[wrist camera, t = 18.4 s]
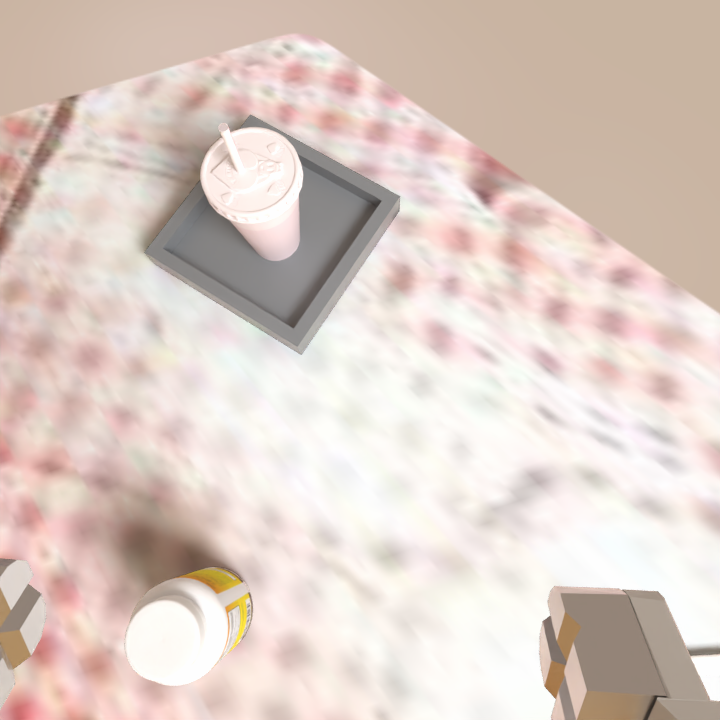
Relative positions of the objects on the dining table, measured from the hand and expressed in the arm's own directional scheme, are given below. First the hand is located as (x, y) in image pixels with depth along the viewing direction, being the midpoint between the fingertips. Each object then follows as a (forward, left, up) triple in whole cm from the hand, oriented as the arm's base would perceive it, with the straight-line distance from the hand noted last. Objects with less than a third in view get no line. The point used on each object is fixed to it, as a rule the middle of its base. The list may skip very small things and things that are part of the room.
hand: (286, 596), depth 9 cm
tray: (-18, +15, -33) cm, 41 cm away
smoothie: (-17, +15, -33) cm, 40 cm away
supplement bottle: (-6, -10, -34) cm, 35 cm away
